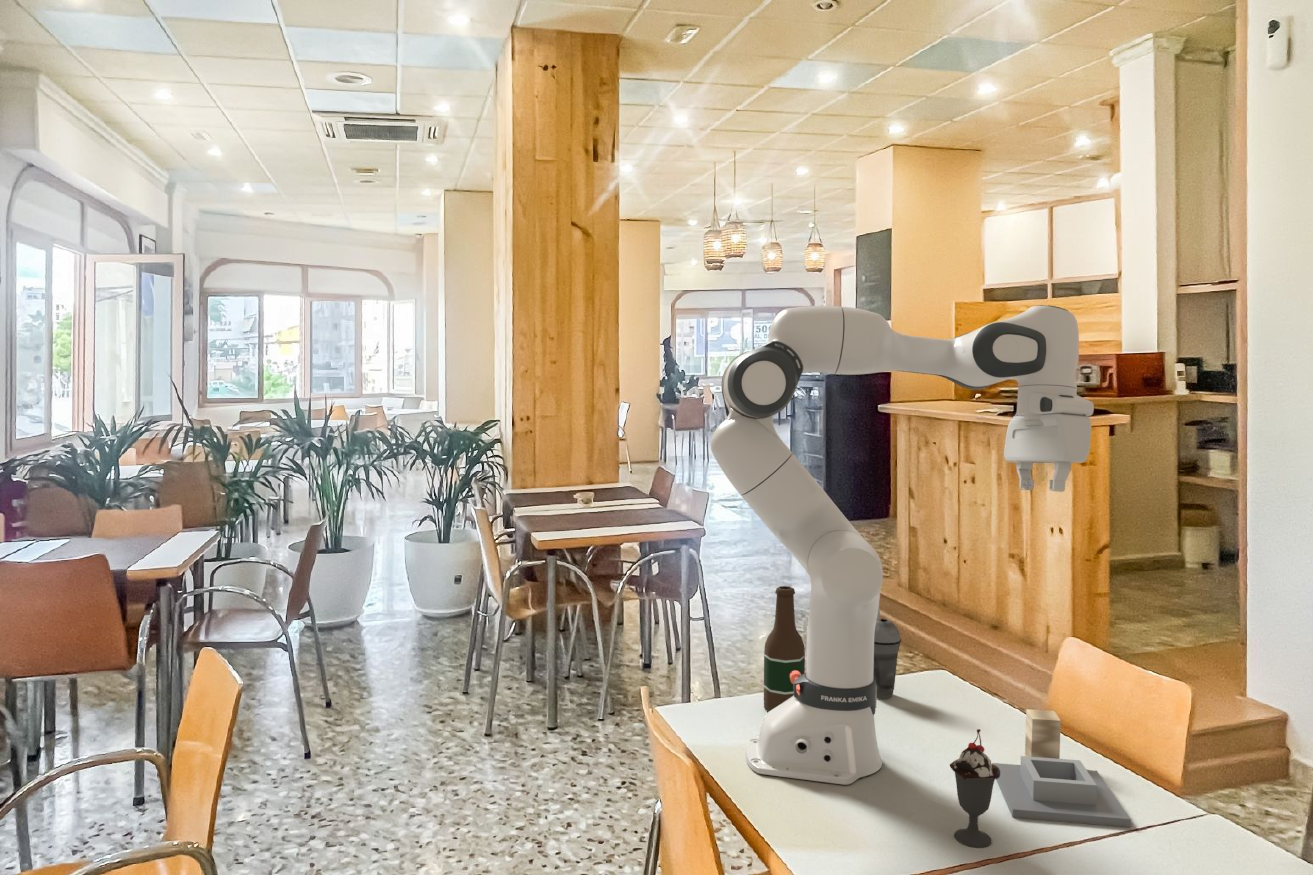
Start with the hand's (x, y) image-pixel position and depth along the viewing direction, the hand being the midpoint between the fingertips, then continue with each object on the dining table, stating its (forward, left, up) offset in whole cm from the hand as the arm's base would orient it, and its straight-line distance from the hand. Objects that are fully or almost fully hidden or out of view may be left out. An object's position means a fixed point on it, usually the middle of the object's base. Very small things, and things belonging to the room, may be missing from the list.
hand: (1041, 490), depth 146 cm
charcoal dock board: (0, -11, -46) cm, 47 cm away
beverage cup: (-20, +31, -46) cm, 59 cm away
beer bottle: (-40, +21, -46) cm, 64 cm away
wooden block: (+2, +2, -46) cm, 46 cm away
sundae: (-16, -25, -46) cm, 55 cm away
